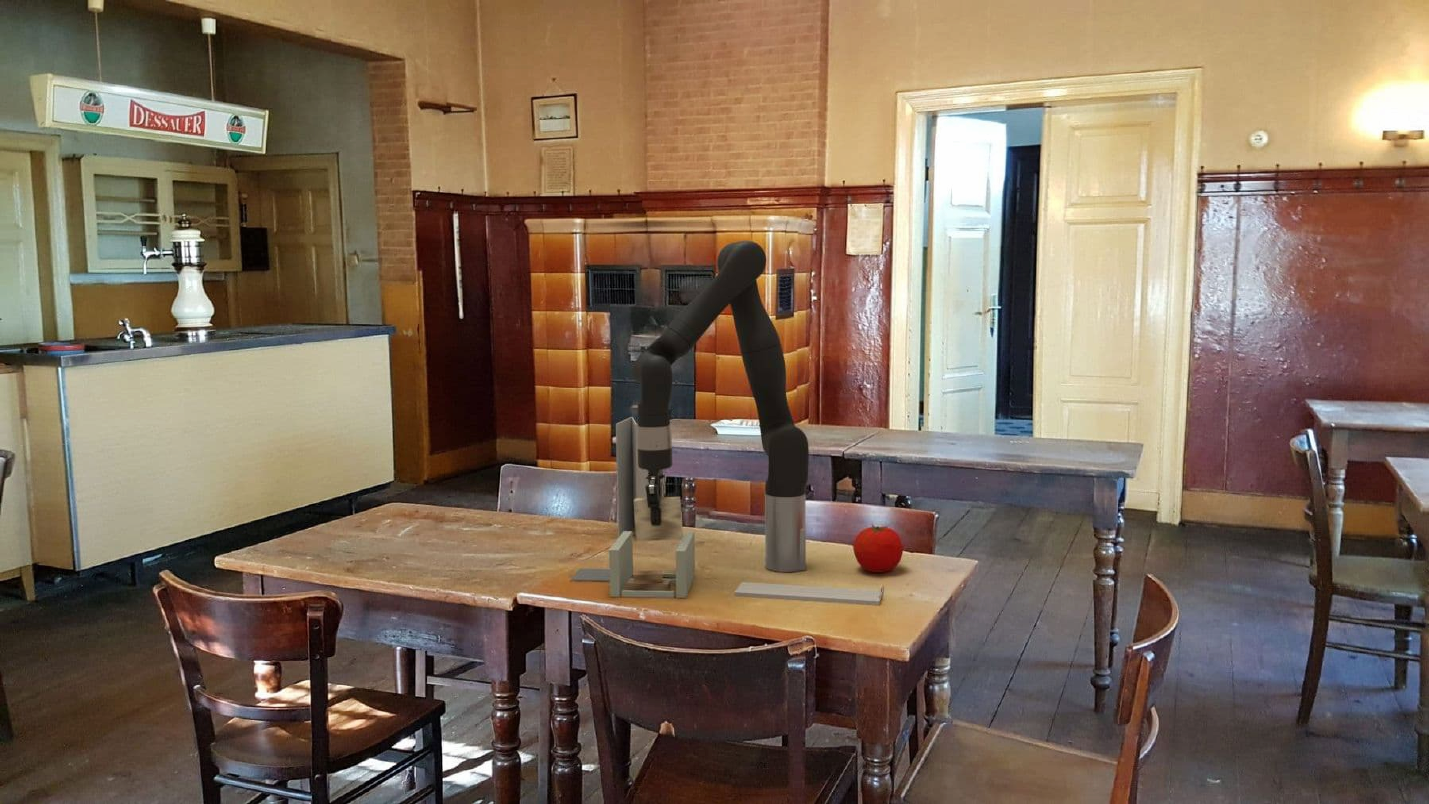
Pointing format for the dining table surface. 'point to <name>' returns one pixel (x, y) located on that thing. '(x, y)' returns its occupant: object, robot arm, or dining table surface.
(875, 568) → the tomato
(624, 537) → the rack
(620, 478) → the brochure
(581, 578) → the mat
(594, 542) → the dining table surface
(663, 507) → the tan wooden slab
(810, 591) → the baseboard
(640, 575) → the offcut top
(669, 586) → the offcut bottom
